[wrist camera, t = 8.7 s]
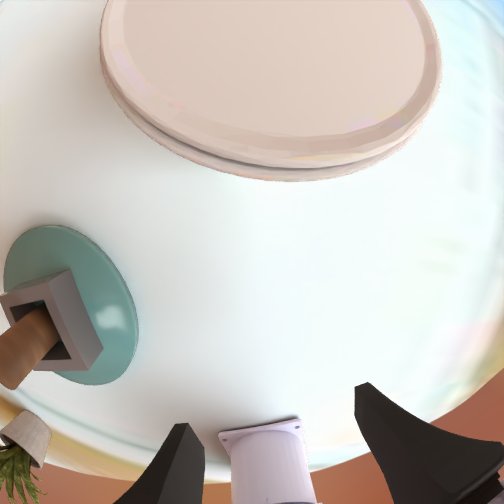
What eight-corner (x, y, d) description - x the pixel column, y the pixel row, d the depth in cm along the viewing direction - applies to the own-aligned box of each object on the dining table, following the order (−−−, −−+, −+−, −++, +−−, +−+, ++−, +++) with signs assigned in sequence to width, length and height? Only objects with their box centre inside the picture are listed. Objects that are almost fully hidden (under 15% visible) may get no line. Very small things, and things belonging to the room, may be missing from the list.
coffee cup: (285, 210, 17) (382, 262, 5) (153, 147, 16) (27, 96, 4) (345, 93, 15) (463, 14, 4) (222, 34, 14) (215, -98, 2)
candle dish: (164, 374, 20) (154, 407, 16) (50, 378, 19) (32, 401, 16) (102, 201, 16) (71, 206, 12) (-6, 248, 16) (-34, 260, 12)
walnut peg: (77, 329, 17) (24, 391, 9) (53, 333, 17) (1, 388, 9) (62, 294, 16) (-3, 347, 9) (38, 300, 16) (-22, 348, 9)
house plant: (-2, 410, 21) (-43, 469, 5) (-9, 361, 19) (-73, 432, 3) (68, 462, 24) (39, 534, 8) (76, 429, 21) (32, 528, 6)
